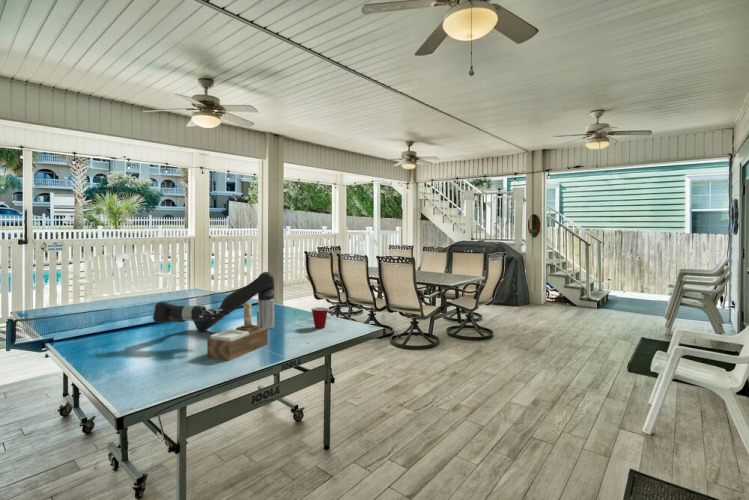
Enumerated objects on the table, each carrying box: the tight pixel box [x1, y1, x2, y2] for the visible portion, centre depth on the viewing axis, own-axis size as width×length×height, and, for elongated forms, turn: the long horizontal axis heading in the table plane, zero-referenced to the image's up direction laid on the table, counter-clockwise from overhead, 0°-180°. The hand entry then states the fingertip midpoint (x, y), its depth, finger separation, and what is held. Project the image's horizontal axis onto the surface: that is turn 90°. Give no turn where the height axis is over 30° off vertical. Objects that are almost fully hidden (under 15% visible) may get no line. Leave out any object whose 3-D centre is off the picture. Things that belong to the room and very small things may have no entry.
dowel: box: [243, 302, 253, 329], centre depth 194 cm, size 4×4×14 cm
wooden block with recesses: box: [206, 324, 269, 361], centre depth 188 cm, size 13×27×10 cm, turn 158°
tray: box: [210, 328, 249, 342], centre depth 182 cm, size 12×12×2 cm
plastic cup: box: [310, 306, 330, 330], centre depth 232 cm, size 11×11×12 cm
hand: (225, 314), depth 194 cm, fingers open, 8 cm apart
